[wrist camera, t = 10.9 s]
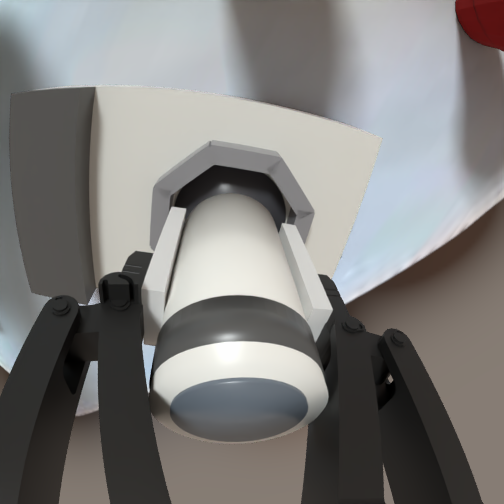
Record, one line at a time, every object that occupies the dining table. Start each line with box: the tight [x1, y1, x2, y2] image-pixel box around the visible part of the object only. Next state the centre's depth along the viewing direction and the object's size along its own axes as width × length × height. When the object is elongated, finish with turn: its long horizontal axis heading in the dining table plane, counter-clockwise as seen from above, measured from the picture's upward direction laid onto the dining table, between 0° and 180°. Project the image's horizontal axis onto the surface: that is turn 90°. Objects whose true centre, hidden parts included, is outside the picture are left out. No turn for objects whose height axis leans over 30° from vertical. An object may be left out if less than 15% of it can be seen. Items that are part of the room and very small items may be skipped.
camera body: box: [9, 85, 383, 305], centre depth 19 cm, size 22×14×8 cm, turn 78°
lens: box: [149, 193, 328, 444], centre depth 11 cm, size 5×5×10 cm
